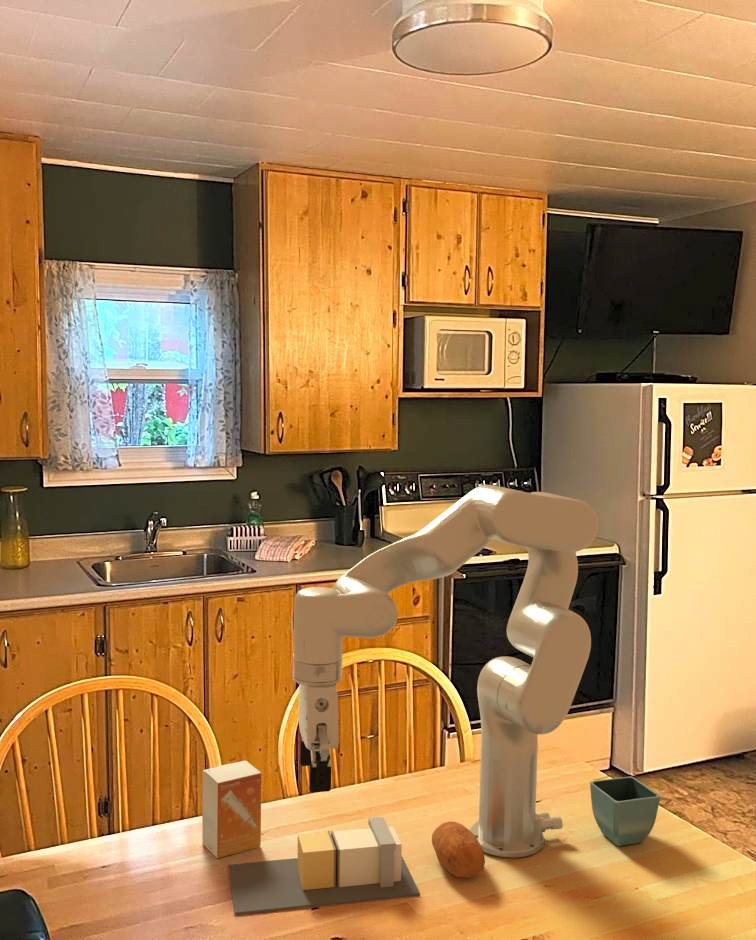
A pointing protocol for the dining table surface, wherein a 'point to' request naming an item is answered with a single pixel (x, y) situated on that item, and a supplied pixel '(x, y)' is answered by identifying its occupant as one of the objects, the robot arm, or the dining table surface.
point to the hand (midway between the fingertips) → (315, 777)
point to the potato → (458, 849)
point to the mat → (282, 888)
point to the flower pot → (624, 809)
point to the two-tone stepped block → (368, 855)
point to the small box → (231, 808)
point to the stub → (316, 860)
